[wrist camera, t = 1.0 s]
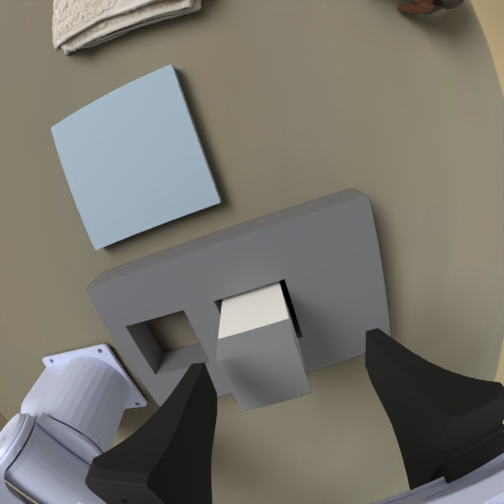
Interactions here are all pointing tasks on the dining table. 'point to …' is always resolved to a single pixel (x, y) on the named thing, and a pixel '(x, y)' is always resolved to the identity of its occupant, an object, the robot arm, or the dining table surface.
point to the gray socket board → (250, 277)
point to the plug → (260, 348)
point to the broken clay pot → (428, 6)
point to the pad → (135, 159)
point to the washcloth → (109, 19)
